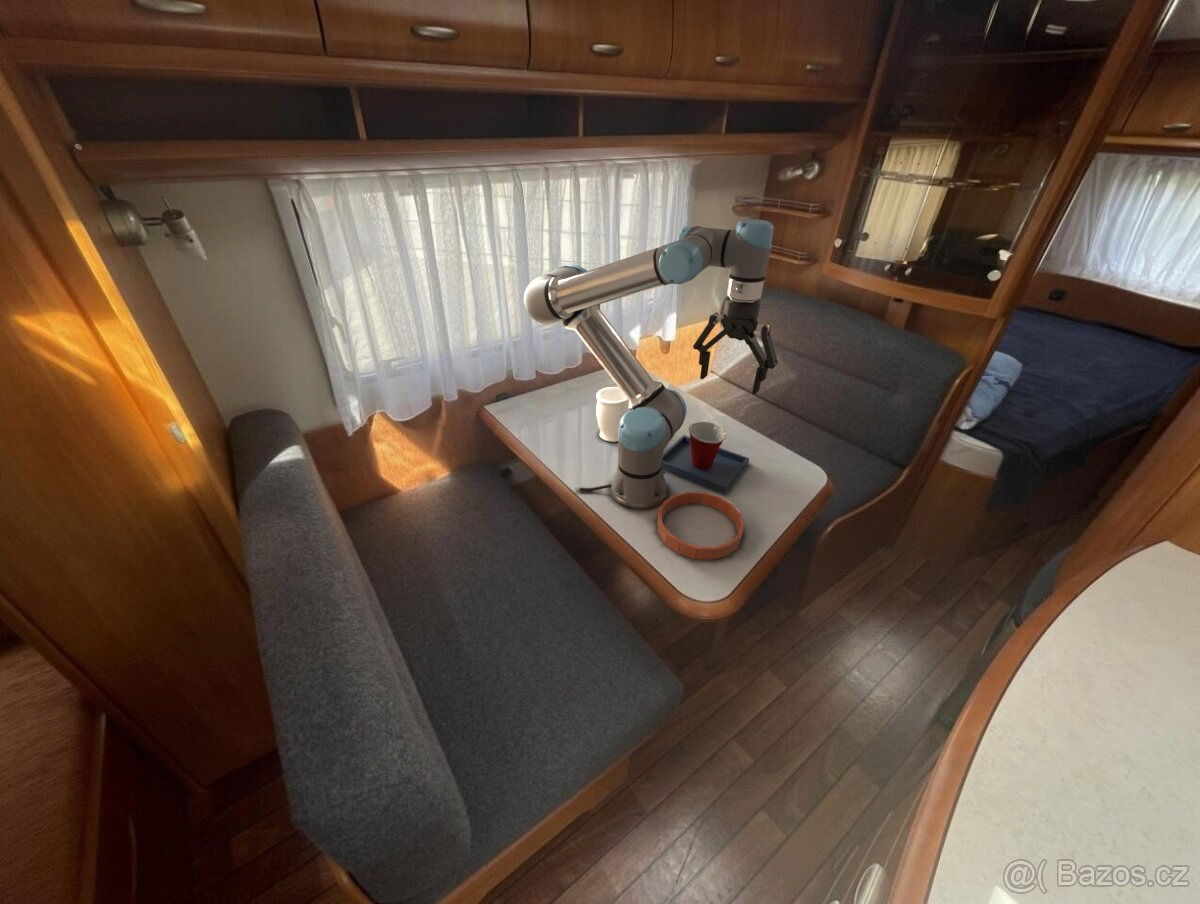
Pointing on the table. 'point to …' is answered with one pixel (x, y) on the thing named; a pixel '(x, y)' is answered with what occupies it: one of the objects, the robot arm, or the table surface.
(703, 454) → the plastic cup
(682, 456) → the tray
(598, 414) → the jar
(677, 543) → the ring
